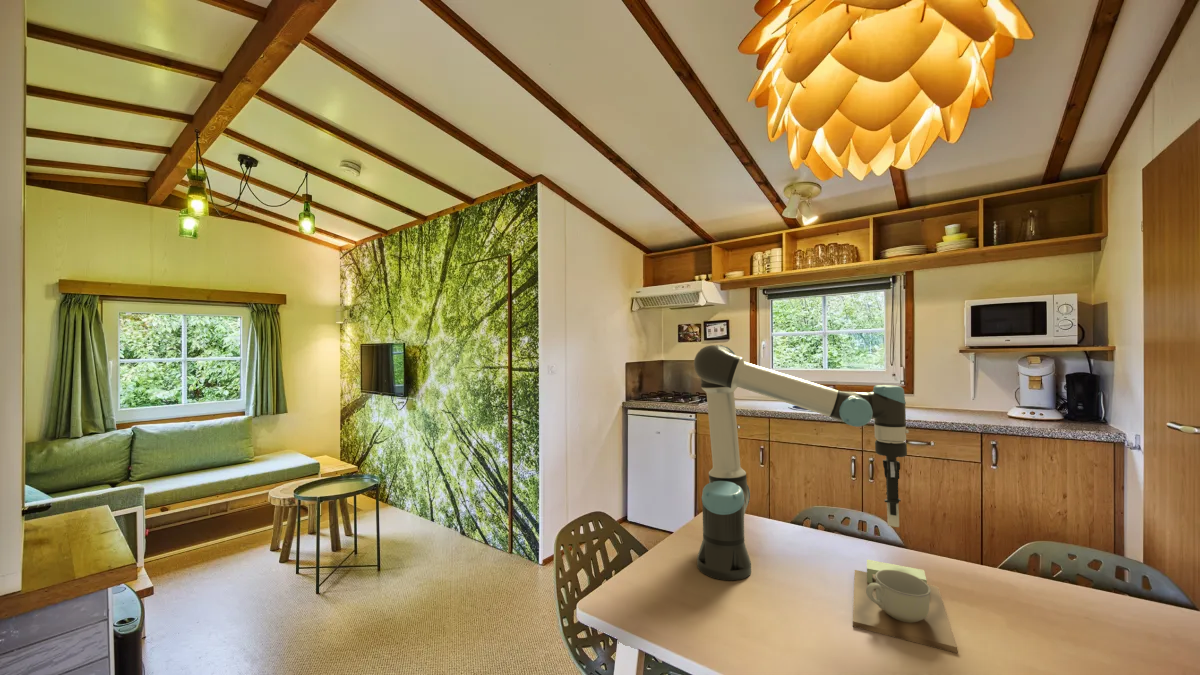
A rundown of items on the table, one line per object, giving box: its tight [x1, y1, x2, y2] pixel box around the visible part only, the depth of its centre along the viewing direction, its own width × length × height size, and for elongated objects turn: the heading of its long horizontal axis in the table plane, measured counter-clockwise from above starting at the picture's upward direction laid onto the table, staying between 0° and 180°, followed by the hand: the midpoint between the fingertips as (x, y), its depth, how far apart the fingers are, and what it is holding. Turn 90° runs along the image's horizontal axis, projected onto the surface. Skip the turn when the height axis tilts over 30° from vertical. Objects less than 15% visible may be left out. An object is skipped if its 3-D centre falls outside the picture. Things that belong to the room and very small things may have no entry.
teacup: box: [866, 570, 931, 623], centre depth 107 cm, size 14×11×8 cm
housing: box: [866, 559, 928, 584], centre depth 121 cm, size 13×6×4 cm, turn 60°
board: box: [852, 569, 958, 654], centre depth 112 cm, size 19×28×3 cm
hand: (893, 525), depth 128 cm, fingers closed
